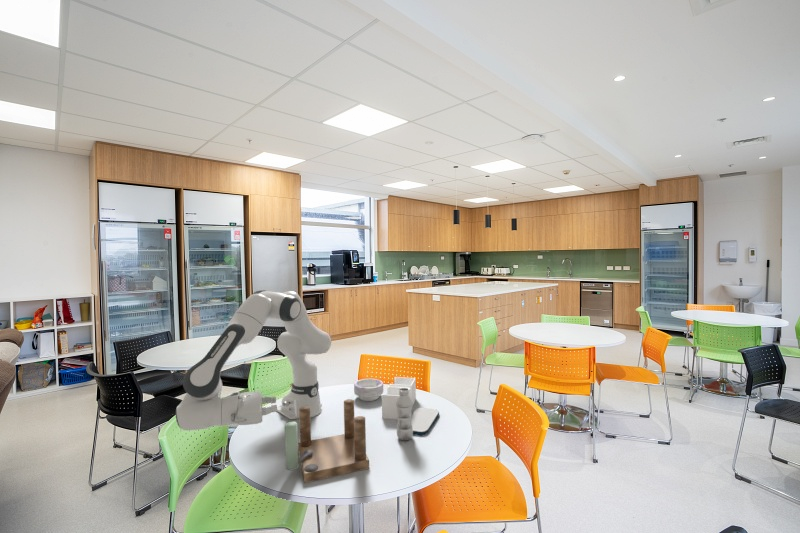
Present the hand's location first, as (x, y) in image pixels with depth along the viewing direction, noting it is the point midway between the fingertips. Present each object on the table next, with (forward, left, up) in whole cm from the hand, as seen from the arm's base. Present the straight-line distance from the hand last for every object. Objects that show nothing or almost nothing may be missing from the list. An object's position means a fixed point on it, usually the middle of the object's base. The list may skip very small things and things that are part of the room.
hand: (276, 403), depth 129 cm
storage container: (+4, +67, -24) cm, 72 cm away
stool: (+9, +16, -24) cm, 31 cm away
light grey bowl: (-17, +69, -24) cm, 75 cm away
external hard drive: (+21, +59, -25) cm, 68 cm away
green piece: (+5, +5, -21) cm, 22 cm away
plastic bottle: (+23, +43, -24) cm, 55 cm away
